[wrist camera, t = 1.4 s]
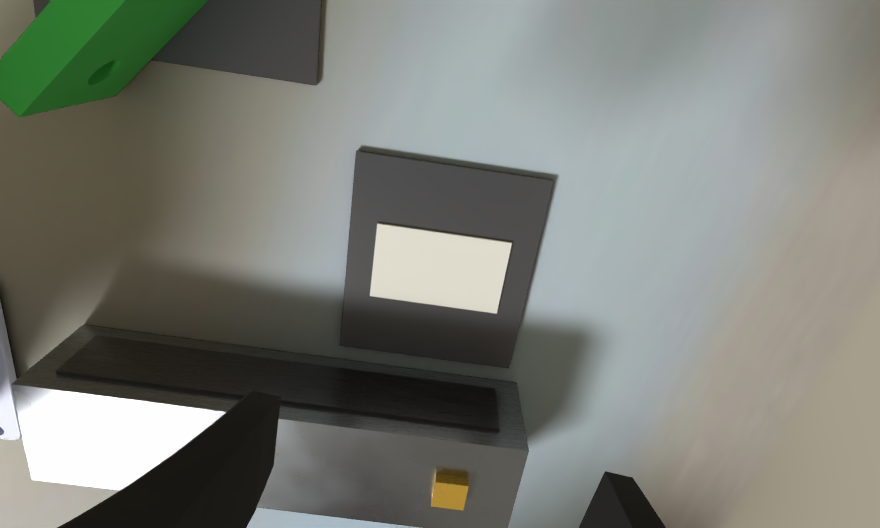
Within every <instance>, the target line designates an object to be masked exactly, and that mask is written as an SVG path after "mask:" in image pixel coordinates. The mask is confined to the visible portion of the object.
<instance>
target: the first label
mask: <svg viewBox="0 0 880 528" xmlns="http://www.w3.org/2000/svg"><path fill="white" fill-rule="evenodd" d="M553 182H554V181H553V180H551V179H545V178H538V177H531V176H525V175H518V174H511V173H505V172H498V171H491V170H485V169H478V168H471V167H465V166H458V165H451V164H445V163H438V162H431V161H425V160H418V159H411V158H404V157H398V156H391V155H384V154H378V153H371V152H364V151H358V150H357V151H356V159H355V171H354V183H353V195H352V207H351V219H350V231H349V243H348V254H347V266H346V278H345V290H344V302H343V314H342V326H341V338H340V346H348V347H355V348H363V349H370V350H377V351H385V352H392V353H400V354H407V355H414V356H422V357H429V358H437V359H444V360H451V361H459V362H466V363H473V364H481V365H488V366H496V367H503V368H509V367H510V363H511V358H512V354H513V350H514V346H515V342H516V337H517V333H518V329H519V325H520V321H521V316H522V312H523V308H524V304H525V300H526V295H527V291H528V287H529V283H530V278H531V274H532V270H533V266H534V262H535V257H536V253H537V249H538V245H539V241H540V236H541V232H542V228H543V224H544V220H545V215H546V211H547V207H548V203H549V199H550V194H551V190H552V186H553Z"/></svg>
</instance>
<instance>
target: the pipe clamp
mask: <svg viewBox="0 0 880 528" xmlns="http://www.w3.org/2000/svg"><path fill="white" fill-rule="evenodd" d="M207 1H208V0H50V3H49V4H48V5H47V6H46V7H45V8H44V10H43V11H42V12H41V13H40V14H39V15H38V17H37V18H36V19H35V20H34V21H33V22H32V24H31V25H30V26H29V27H28V28H27V29H26V30H25V32H24V33H23V34H22V35H21V36H20V37H19V39H18V40H17V41H16V42H15V43H14V44H13V46H12V47H11V48H10V49H9V50H8V51H7V53H6V54H5V55H4V56H3V57H2V58H1V60H0V100H1V101H2V102H3V103H4V104H5V105H6V106H8V107H9V108H10V109H11V110H12V111H13V112H14V113H15V114H16V115H17V116H18V117H22V116H27V115H31V114H36V113H40V112H45V111H49V110H54V109H58V108H63V107H67V106H72V105H77V104H81V103H86V102H90V101H95V100H99V99H104V98H108V97H113V96H116V95H117V94H118V93H119V92H120V91H121V90H122V89H123V88H124V87H125V86H126V85H127V84H128V83H129V82H130V81H131V80H132V79H133V78H134V77H135V76H136V75H137V74H138V73H139V72H140V70H141V69H142V68H143V67H144V66H145V65H146V64H147V63H148V62H149V61H150V60H151V59H152V58H153V57H154V56H155V55H156V54H157V53H158V52H159V51H160V50H161V49H162V48H163V47H164V46H165V45H166V44H167V43H168V42H169V41H170V40H171V39H172V38H173V36H174V35H175V34H176V33H177V32H178V31H179V30H180V29H181V28H182V27H183V26H184V25H185V24H186V23H187V22H188V21H189V20H190V19H191V18H192V17H193V16H194V15H195V14H196V13H197V12H198V11H199V10H200V9H201V8H202V7H203V6H204V5H205V4H206V2H207Z"/></svg>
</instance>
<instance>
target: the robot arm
mask: <svg viewBox="0 0 880 528" xmlns="http://www.w3.org/2000/svg"><path fill="white" fill-rule="evenodd" d="M15 380H17V378H16V374H15V369H14V364H13V359H12V354H11V350H10V345H9V340H8V335H7V330H6V325H5V321H4V316H3V311H2V306H1V301H0V439H7V440H18V439H20V438H21V437H22V433H21V428H20V424H19V419H18V414H17V410H16V405H15V400H14V396H13V391H12V386H11V384H12V383H13V382H14V381H15ZM280 400H281V397H279V396H275V395H270V394H266V393H262V392H257V391H252V392H250V393H248V394H247V395H246V396H245V397H244V398H242V399H241V400H240V401H239V402H238V403H237V404H235V405H234V406H233V407H232V408H231V409H229V410H228V411H227V412H226V413H225V414H224V415H222V416H221V417H220V418H219V419H217V420H216V421H215V422H214V423H213V424H211V425H210V426H209V427H208V428H206V429H205V430H204V431H203V432H201V433H200V434H199V435H197V436H196V437H195V438H193V439H192V440H191V441H190V442H188V443H187V444H186V445H184V446H183V447H182V448H180V449H179V450H178V451H176V452H175V453H174V454H172V455H171V456H170V457H168V458H167V459H166V460H164V461H163V462H161V463H160V464H158V465H157V466H155V467H154V468H153V469H151V470H150V471H148V472H147V473H145V474H144V475H143V476H141V477H140V478H138V479H137V480H135V481H134V482H132V483H131V484H129V485H128V486H126V487H125V488H123V489H122V490H120V491H119V492H117V493H115V494H114V495H112V496H111V497H109V498H108V499H106V500H104V501H103V502H101V503H99V504H98V505H96V506H94V507H93V508H91V509H89V510H88V511H86V512H84V513H83V514H81V515H79V516H78V517H76V518H74V519H72V520H70V521H69V522H67V523H65V524H63V525H61V526H60V527H58V528H246V527H247V525H248V523H249V521H250V520H251V518H252V516H253V514H254V512H255V510H256V508H257V505H258V503H259V501H260V498H261V496H262V493H263V491H264V489H265V486H266V484H267V481H268V479H269V476H270V474H271V471H272V469H273V466H274V458H275V448H276V439H277V429H278V420H279V410H280ZM579 528H666V527H665V526H664V524H663V523H662V521H661V520H660V518H659V517H658V515H657V514H656V512H655V511H654V509H653V508H652V506H651V505H650V503H649V502H648V500H647V499H646V497H645V495H644V494H643V492H642V491H641V489H640V488H639V486H638V485H637V484H636V482H635V481H634V479H633V478H632V477H627V476H623V475H618V474H614V473H610V472H605V473H604V475H603V477H602V479H601V481H600V483H599V485H598V488H597V490H596V492H595V494H594V496H593V498H592V501H591V503H590V505H589V507H588V509H587V511H586V513H585V516H584V518H583V520H582V522H581V524H580V526H579Z"/></svg>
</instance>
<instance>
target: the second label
mask: <svg viewBox="0 0 880 528" xmlns="http://www.w3.org/2000/svg"><path fill="white" fill-rule="evenodd" d="M49 3H50V0H34V7H35V14H36V18H37V17H38V15H39V14H40V13H41V12H42V11H43V10H44V8H45V7H46V6H47V5H48V4H49ZM321 6H322V0H208V1H207V2H206V4H205V5H204V6H203V7H202V8H201V9H200V10H199V11H198V12H197V13H196V14H195V15H194V16H193V17H192V18H191V19H190V20H189V21H188V22H187V23H186V24H185V25H184V26H183V27H182V28H181V29H180V30H179V31H178V32H177V33H176V34H175V35H174V36H173V38H172V39H171V40H170V41H169V42H168V43H167V44H166V45H165V46H164V47H163V48H162V49H161V50H160V51H159V52H158V53H157V54H156V55H155V56H154V57H153V58H152V59H151V60H154V61H161V62H167V63H174V64H180V65H187V66H193V67H200V68H206V69H213V70H219V71H226V72H232V73H239V74H245V75H252V76H258V77H265V78H271V79H278V80H284V81H291V82H297V83H304V84H310V85H317V83H318V64H319V45H320V25H321Z"/></svg>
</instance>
